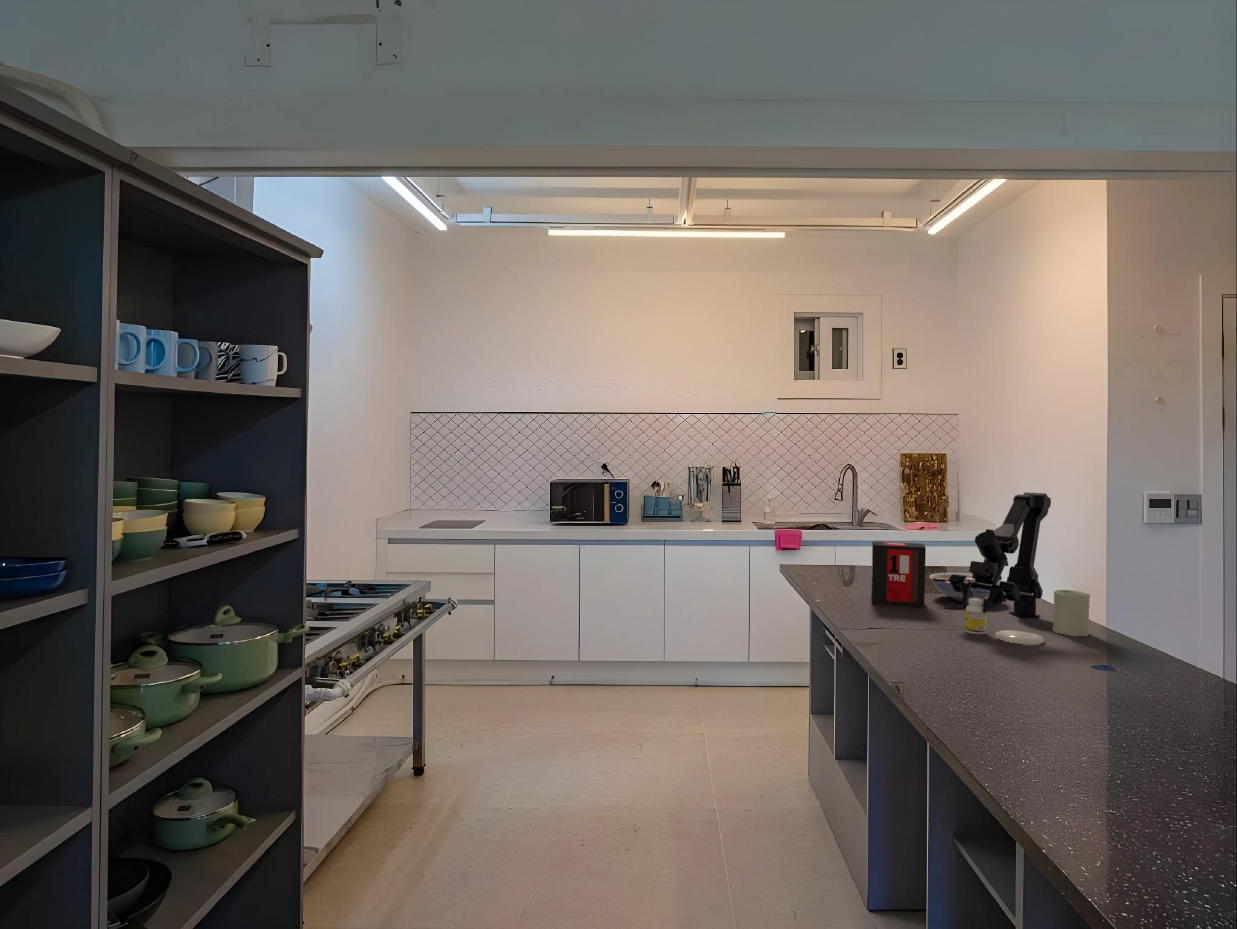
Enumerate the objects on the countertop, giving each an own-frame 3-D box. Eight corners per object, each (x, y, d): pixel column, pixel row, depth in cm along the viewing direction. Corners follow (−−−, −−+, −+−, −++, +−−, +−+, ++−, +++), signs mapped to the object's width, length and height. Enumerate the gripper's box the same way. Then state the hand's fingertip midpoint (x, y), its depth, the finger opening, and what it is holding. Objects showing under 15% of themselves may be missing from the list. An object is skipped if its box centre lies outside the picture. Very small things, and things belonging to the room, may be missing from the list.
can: (1079, 629, 230) (1080, 588, 229) (1095, 637, 221) (1096, 595, 220) (1046, 628, 231) (1047, 587, 230) (1061, 636, 222) (1062, 594, 221)
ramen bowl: (989, 593, 280) (990, 571, 280) (1015, 608, 257) (1016, 583, 257) (917, 591, 282) (918, 569, 282) (937, 605, 260) (937, 581, 259)
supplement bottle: (968, 628, 229) (969, 595, 228) (988, 632, 225) (989, 598, 225) (962, 632, 225) (963, 598, 224) (983, 635, 221) (983, 601, 221)
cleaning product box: (922, 601, 266) (923, 543, 265) (924, 607, 257) (925, 547, 256) (871, 598, 270) (872, 541, 270) (871, 603, 262) (872, 544, 261)
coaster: (986, 634, 223) (986, 630, 223) (1025, 633, 224) (1025, 630, 224) (1012, 645, 211) (1012, 642, 211) (1053, 644, 212) (1053, 641, 212)
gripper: (952, 547, 234) (933, 588, 227) (1017, 554, 220) (998, 598, 213) (964, 570, 239) (945, 610, 232) (1028, 579, 225) (1010, 623, 218)
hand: (973, 610), depth 224 cm, fingers closed on supplement bottle, 5 cm apart
